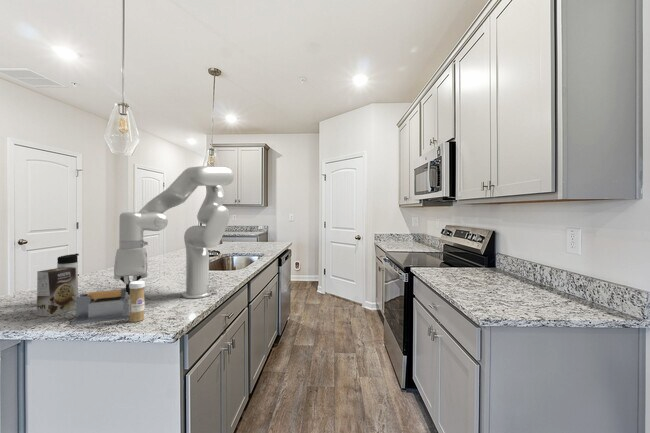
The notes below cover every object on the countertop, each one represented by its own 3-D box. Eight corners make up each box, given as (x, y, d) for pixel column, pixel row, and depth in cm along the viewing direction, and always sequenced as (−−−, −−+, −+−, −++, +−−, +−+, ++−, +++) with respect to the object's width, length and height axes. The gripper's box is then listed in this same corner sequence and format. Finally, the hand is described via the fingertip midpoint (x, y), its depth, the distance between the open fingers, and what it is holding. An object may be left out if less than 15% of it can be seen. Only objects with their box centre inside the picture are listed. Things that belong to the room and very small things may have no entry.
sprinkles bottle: (136, 323, 99) (136, 283, 99) (125, 321, 100) (125, 282, 100) (147, 318, 104) (147, 280, 103) (137, 316, 105) (137, 279, 105)
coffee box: (51, 317, 103) (50, 272, 103) (36, 315, 104) (35, 271, 104) (76, 308, 112) (76, 267, 112) (62, 307, 113) (62, 266, 113)
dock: (141, 305, 117) (141, 286, 117) (135, 317, 104) (135, 295, 104) (84, 311, 109) (84, 290, 109) (71, 325, 97) (71, 301, 97)
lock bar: (125, 295, 110) (125, 288, 110) (124, 296, 108) (124, 289, 108) (89, 298, 105) (89, 291, 105) (87, 300, 103) (87, 293, 103)
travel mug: (80, 303, 119) (80, 254, 118) (58, 307, 114) (58, 256, 113) (77, 299, 123) (77, 252, 122) (56, 303, 118) (56, 254, 118)
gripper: (155, 243, 116) (154, 289, 116) (109, 244, 109) (109, 293, 110) (153, 245, 109) (152, 294, 109) (104, 246, 103) (103, 298, 103)
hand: (130, 293), depth 109 cm, fingers closed
